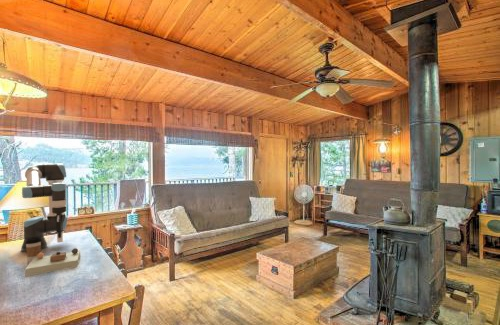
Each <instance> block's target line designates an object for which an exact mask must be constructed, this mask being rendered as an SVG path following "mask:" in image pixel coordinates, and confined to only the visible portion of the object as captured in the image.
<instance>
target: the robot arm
mask: <svg viewBox="0 0 500 325" xmlns="http://www.w3.org/2000/svg"><path fill="white" fill-rule="evenodd" d="M25 170H26V171H25V172H24V177H25V178H26V186H22V189H21V191H22V192H21V194H22V198H23V199H32V198H33V199H34V198H48V209H49V210H48V211H49V212H48V214H47V215H46V217H44V216H43V215H42V216H35V217H31V218H28V219H25V220H24V222H23V242H22V244H21V247H20V248H21V249H20V250H21V252H26V253H27V250H26V244H25V242H26V240H27V239H29V238H35V237H41V240H42V241H41V250H43V249H45V248H47V247H48V243H47V241H46V239H45V234H47V233H54V232H55V234H56V238H57V239H56V240H57V243H63V242H64V240H63V239H64V238H63V236H64V235H63V232H64V231H65V230H66V229H67V225H68V215H66V213H67V186H66V183H65V182H64V180H65V178H67V171H66V167H65V164H64V163H61V162H60V163H58V162H55V163H50V162H49V163H36V164H33V165H31V166H30V167H28V168H27V169H25ZM41 179H45V181H46V182H47V183H48V184H47V185H42V184H41V182H42V181H41Z"/></svg>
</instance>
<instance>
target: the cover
mask: <svg viewBox="0 0 500 325" xmlns="http://www.w3.org/2000/svg"><path fill="white" fill-rule="evenodd" d="M66 253H67V251H57V252H53V253H52V254H51V257H50V261H51V262H52V261H58V260H64V259H65V257H66Z"/></svg>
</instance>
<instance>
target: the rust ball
mask: <svg viewBox="0 0 500 325" xmlns="http://www.w3.org/2000/svg"><path fill="white" fill-rule="evenodd" d="M43 256H45V253H44V252H40V253H39V254H37V258H42V257H43Z"/></svg>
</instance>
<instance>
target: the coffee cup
mask: <svg viewBox="0 0 500 325" xmlns="http://www.w3.org/2000/svg"><path fill="white" fill-rule="evenodd" d="M41 241H42V240H41V237H35V238H29V239H27V240H26V242H25V244H26V250H27V252H26V255H27V262H28V263H30V262H31V261H32V260H33V258H37V254H39V253H41V250H42V249H41Z"/></svg>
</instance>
